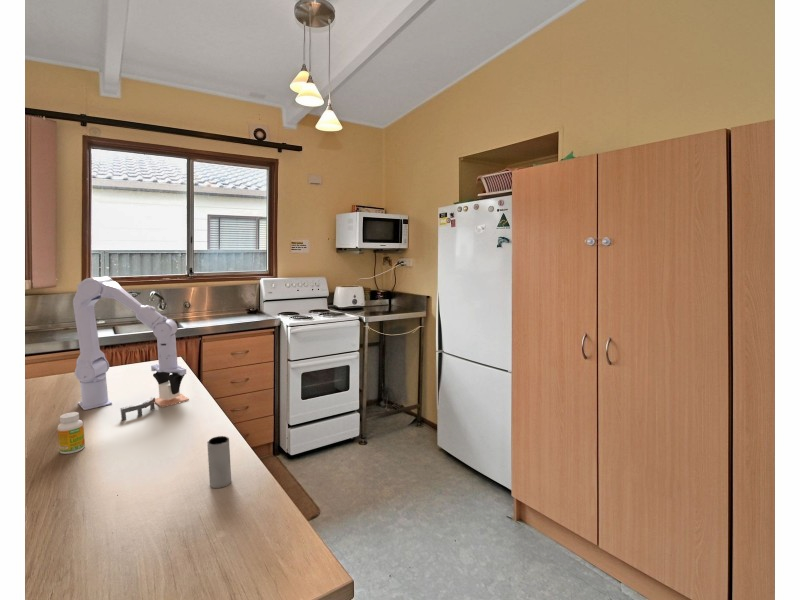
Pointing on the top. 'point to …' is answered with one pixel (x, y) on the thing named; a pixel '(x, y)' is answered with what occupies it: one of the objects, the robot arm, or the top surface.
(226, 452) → the grey tube
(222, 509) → the top surface
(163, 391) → the cream block
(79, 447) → the supplement bottle
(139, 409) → the bent rail
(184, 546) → the top surface
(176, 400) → the terracotta tile
